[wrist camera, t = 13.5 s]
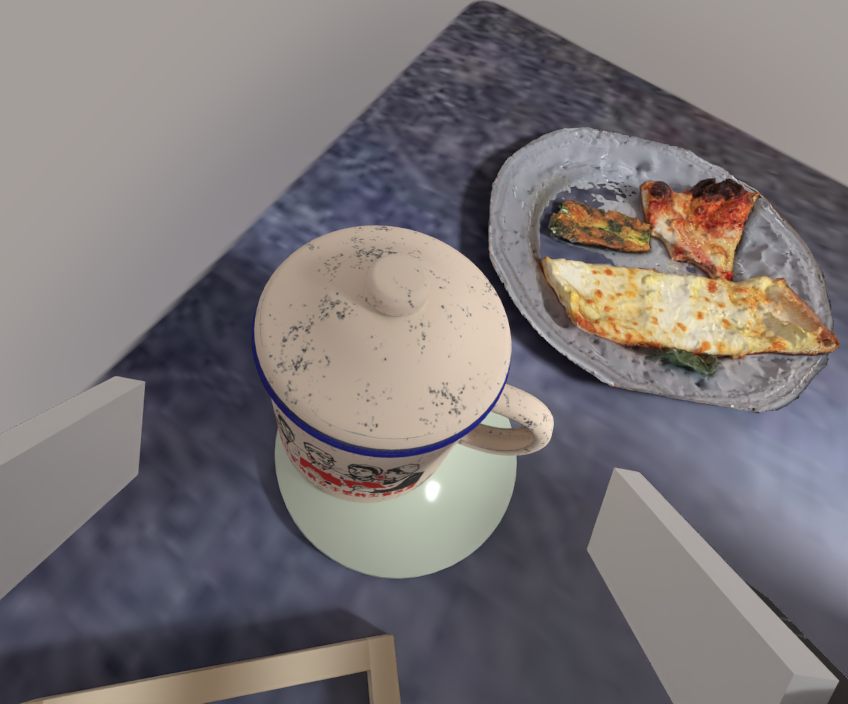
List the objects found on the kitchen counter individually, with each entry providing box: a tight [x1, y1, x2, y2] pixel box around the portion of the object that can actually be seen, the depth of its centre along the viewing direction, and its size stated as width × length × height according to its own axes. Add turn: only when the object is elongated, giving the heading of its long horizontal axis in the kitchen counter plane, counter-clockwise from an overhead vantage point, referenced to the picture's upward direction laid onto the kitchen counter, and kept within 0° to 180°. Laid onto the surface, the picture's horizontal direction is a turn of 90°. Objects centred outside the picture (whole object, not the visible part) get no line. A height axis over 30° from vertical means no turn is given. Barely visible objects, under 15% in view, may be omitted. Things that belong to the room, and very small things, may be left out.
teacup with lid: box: [252, 226, 554, 503], centre depth 19 cm, size 12×9×12 cm
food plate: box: [488, 127, 840, 413], centre depth 34 cm, size 25×23×4 cm
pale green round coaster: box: [275, 412, 517, 579], centre depth 24 cm, size 12×12×1 cm
